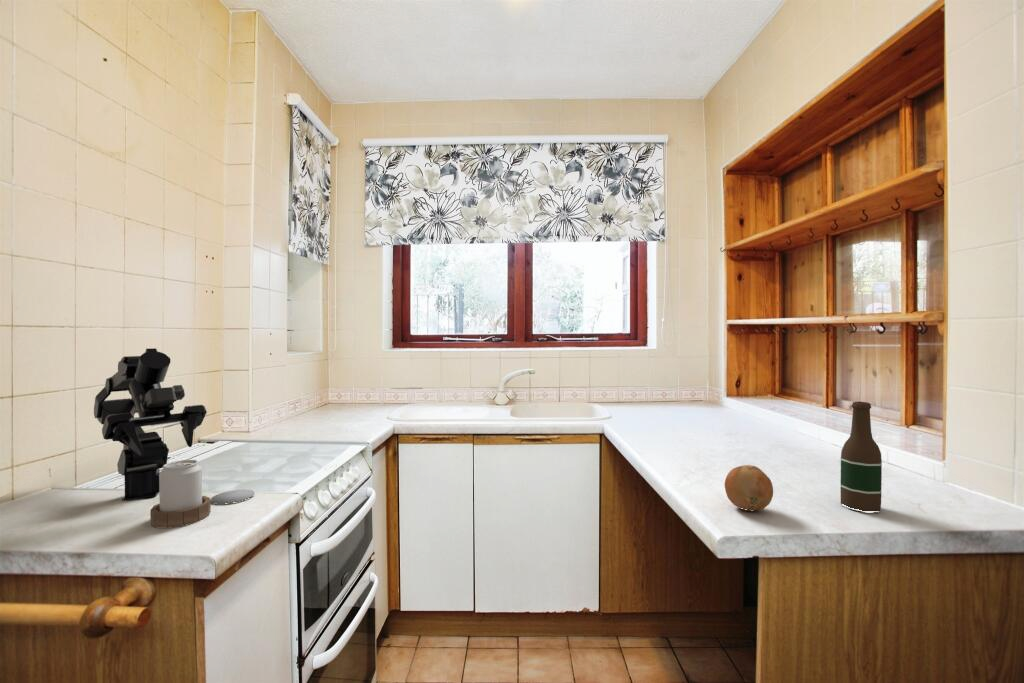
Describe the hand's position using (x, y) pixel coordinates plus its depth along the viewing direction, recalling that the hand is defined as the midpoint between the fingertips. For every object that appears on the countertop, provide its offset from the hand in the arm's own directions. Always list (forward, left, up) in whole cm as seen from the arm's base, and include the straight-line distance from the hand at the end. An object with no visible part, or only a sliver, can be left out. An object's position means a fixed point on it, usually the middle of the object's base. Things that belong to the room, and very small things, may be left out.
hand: (167, 450), depth 104 cm
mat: (+12, +3, -14) cm, 19 cm away
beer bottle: (+143, -65, -14) cm, 157 cm away
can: (+4, -7, -14) cm, 16 cm away
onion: (+119, -55, -14) cm, 131 cm away
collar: (+4, -7, -14) cm, 15 cm away
